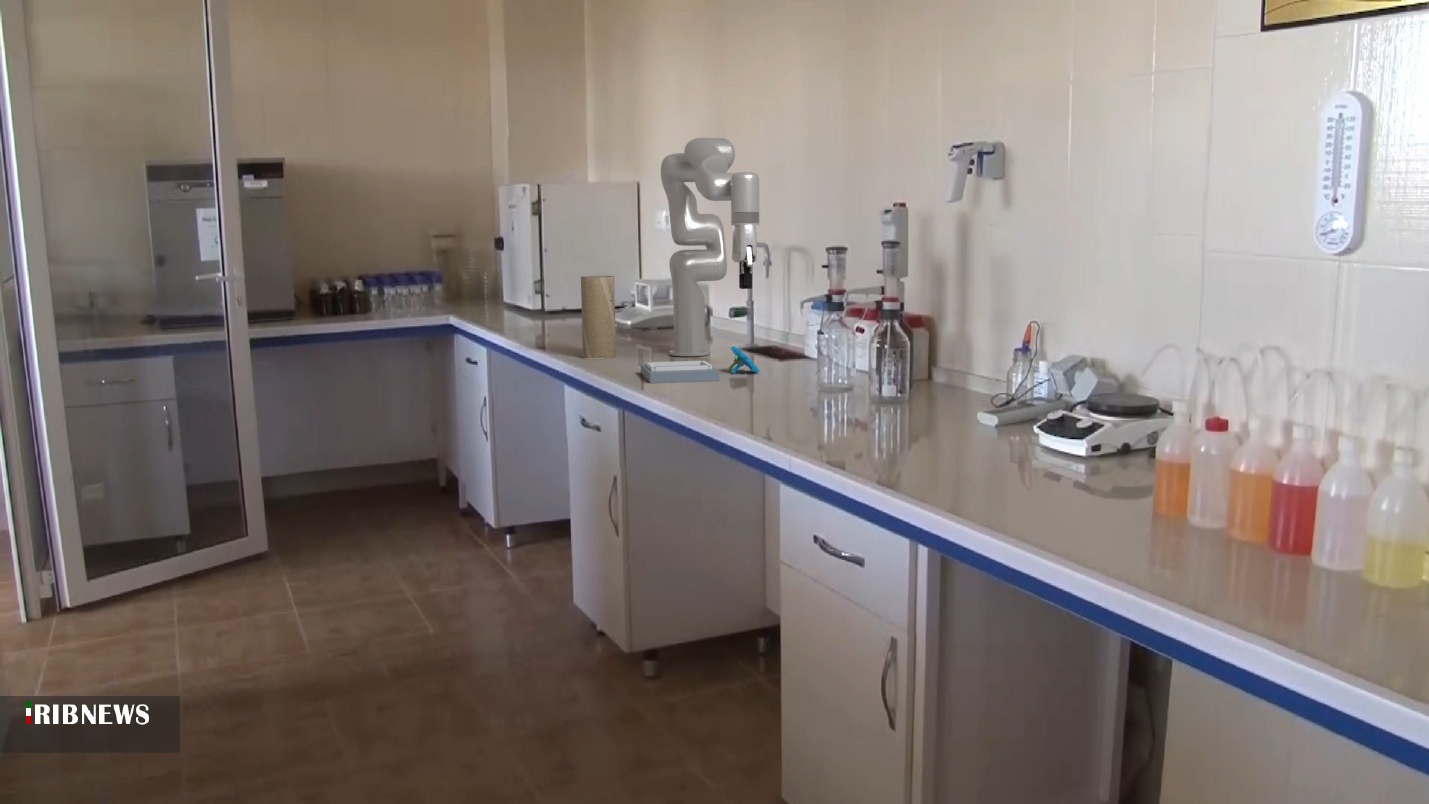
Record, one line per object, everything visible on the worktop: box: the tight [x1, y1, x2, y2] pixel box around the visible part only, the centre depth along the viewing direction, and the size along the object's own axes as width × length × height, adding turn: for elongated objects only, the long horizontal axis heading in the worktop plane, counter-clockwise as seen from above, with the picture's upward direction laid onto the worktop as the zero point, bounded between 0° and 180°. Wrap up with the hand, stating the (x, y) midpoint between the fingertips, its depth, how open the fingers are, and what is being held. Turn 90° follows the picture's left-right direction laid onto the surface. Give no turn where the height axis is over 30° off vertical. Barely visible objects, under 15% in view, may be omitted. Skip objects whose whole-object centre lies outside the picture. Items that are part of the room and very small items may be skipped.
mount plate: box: [640, 360, 720, 384], centre depth 307 cm, size 20×18×4 cm
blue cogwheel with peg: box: [728, 345, 760, 375], centre depth 311 cm, size 11×6×10 cm
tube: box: [580, 275, 617, 359], centre depth 348 cm, size 10×10×25 cm
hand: (745, 288), depth 309 cm, fingers closed
